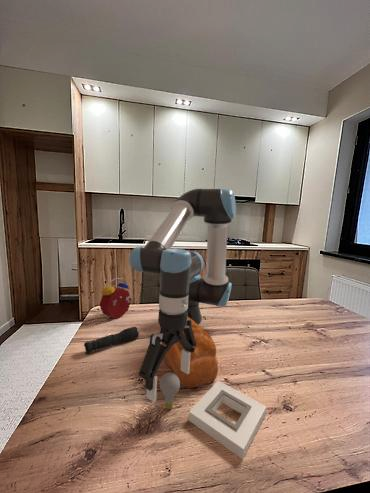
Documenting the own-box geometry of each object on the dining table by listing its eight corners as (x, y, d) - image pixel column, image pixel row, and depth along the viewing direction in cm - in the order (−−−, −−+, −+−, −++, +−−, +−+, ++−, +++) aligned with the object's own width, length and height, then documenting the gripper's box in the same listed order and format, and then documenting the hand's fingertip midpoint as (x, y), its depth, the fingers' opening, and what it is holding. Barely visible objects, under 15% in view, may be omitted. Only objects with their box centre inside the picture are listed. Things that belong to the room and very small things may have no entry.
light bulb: (159, 400, 67) (160, 368, 65) (178, 399, 67) (179, 368, 66) (158, 416, 61) (159, 382, 60) (179, 416, 62) (181, 382, 60)
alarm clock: (123, 309, 125) (123, 273, 122) (134, 314, 120) (135, 277, 117) (99, 319, 113) (99, 279, 110) (110, 325, 108) (110, 283, 105)
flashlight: (139, 340, 97) (139, 329, 97) (87, 358, 84) (87, 345, 83) (133, 335, 101) (133, 324, 100) (83, 351, 88) (83, 339, 87)
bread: (184, 393, 70) (186, 345, 67) (154, 346, 93) (155, 310, 91) (221, 380, 76) (225, 336, 74) (185, 339, 99) (186, 305, 97)
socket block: (188, 420, 61) (189, 410, 60) (217, 388, 72) (218, 379, 72) (242, 459, 52) (243, 447, 51) (265, 415, 63) (266, 405, 63)
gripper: (147, 331, 48) (144, 423, 51) (211, 300, 68) (206, 368, 70) (124, 320, 52) (122, 404, 55) (190, 294, 72) (186, 357, 75)
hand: (169, 384), depth 63 cm, fingers open, 13 cm apart
